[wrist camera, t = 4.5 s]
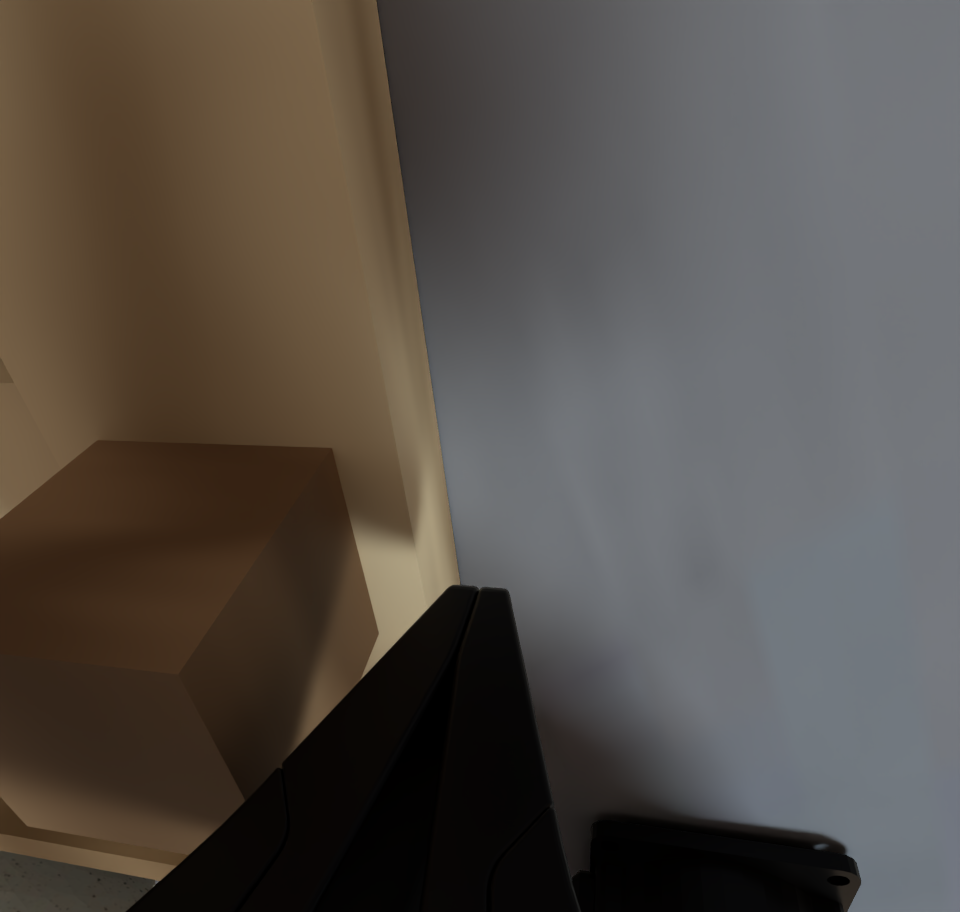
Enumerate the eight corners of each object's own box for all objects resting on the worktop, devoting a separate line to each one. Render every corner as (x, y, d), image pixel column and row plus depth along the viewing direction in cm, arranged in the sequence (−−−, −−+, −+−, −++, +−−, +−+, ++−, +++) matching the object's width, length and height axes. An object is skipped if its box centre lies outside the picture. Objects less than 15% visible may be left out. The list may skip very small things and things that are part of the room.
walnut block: (331, 447, 10) (178, 675, 6) (379, 633, 12) (283, 871, 9) (96, 440, 10) (-145, 637, 7) (182, 615, 13) (27, 825, 9)
